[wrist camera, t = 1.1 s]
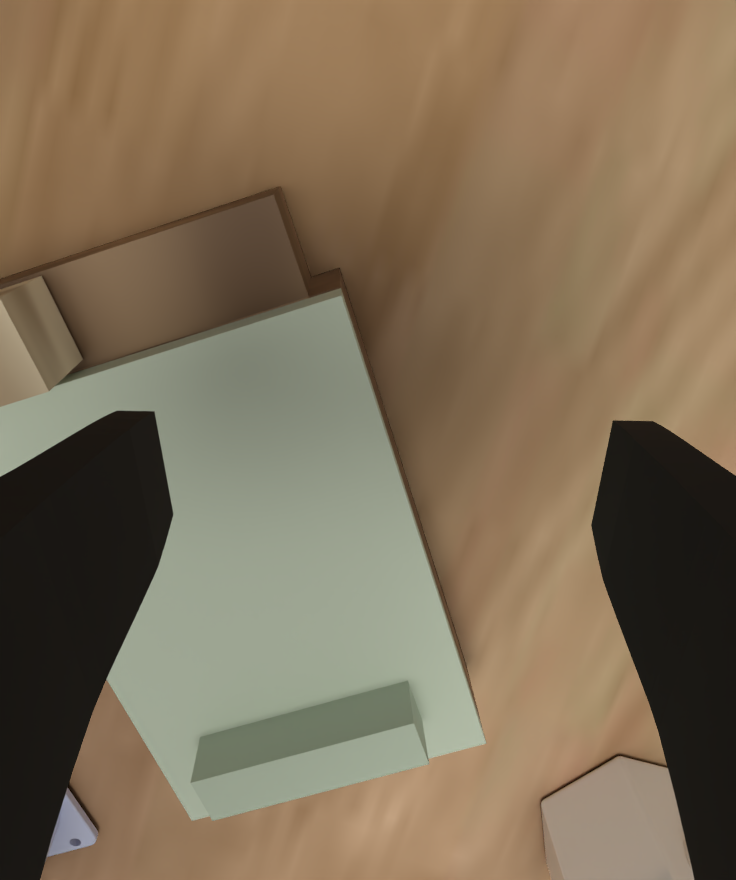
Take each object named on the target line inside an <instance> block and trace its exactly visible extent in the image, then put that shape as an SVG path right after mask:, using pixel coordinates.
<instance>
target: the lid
mask: <svg viewBox="0 0 736 880" xmlns="http://www.w3.org/2000/svg"><path fill="white" fill-rule="evenodd" d="M115 411H155V417H156V422H157V428H158V433H159V438H160V444H161V449H162V455H163V460H164V466H165V471H166V476H167V482H168V487H169V493H170V498H171V504H172V509H173V518H172V522H171V525H170V529H169V533H168V536H167V540H166V543H165V547H164V550H163V553H162V556H161V559H160V563H159V566H158V568H157V571H156V573H155V575H154V577H153V580H152V582H151V584H150V586H149V588H148V591H147V593H146V595H145V597H144V599H143V602H142V604H141V606H140V608H139V610H138V612H137V615H136V617H135V619H134V621H133V623H132V625H131V627H130V630H129V632H128V634H127V636H126V638H125V640H124V642H123V645H122V647H121V649H120V651H119V653H118V655H117V657H116V660H115V662H114V664H113V666H112V668H111V670H110V672H109V674H108V677H107V681H108V682H109V684H110V686H111V687H112V689H113V691H114V692H115V694H116V696H117V697H118V699H119V701H120V702H121V704H122V706H123V707H124V709H125V711H126V712H127V714H128V716H129V717H130V719H131V721H132V722H133V724H134V726H135V727H136V729H137V731H138V732H139V734H140V735H141V737H142V739H143V740H144V742H145V744H146V745H147V747H148V749H149V750H150V752H151V754H152V755H153V757H154V759H155V760H156V762H157V764H158V765H159V767H160V769H161V770H162V772H163V774H164V775H165V777H166V779H167V780H168V782H169V784H170V785H171V787H172V789H173V790H174V792H175V794H176V795H177V797H178V799H179V800H180V802H181V804H182V805H183V807H184V808H185V810H186V812H187V813H188V815H189V817H190V818H191V820H192V821H193V820H197V819H201V818H204V817H208V816H210V817H211V819H212V821H214V820H218V819H222V818H226V817H229V816H233V815H237V814H241V813H245V812H248V811H252V810H256V809H260V808H264V807H267V806H271V805H275V804H279V803H283V802H287V801H290V800H294V799H298V798H302V797H306V796H309V795H313V794H317V793H321V792H325V791H328V790H332V789H336V788H340V787H344V786H348V785H351V784H355V783H359V782H363V781H367V780H370V779H374V778H378V777H382V776H386V775H389V774H393V773H397V772H401V771H405V770H409V769H412V768H416V767H420V766H424V765H428V764H429V760H428V759H429V758H433V757H436V756H440V755H444V754H448V753H452V752H455V751H459V750H463V749H467V748H471V747H475V746H478V745H482V744H486V741H485V737H484V733H483V729H482V725H481V721H480V718H479V715H478V712H477V709H476V706H475V703H474V700H473V697H472V693H471V690H470V687H469V684H468V681H467V678H466V675H465V672H464V669H463V666H462V662H461V659H460V656H459V653H458V650H457V647H456V644H455V641H454V638H453V634H452V631H451V628H450V625H449V622H448V619H447V616H446V613H445V610H444V606H443V603H442V600H441V597H440V594H439V591H438V588H437V585H436V582H435V579H434V575H433V572H432V569H431V566H430V563H429V560H428V557H427V554H426V551H425V547H424V544H423V541H422V538H421V535H420V532H419V529H418V526H417V523H416V520H415V516H414V513H413V510H412V507H411V504H410V501H409V498H408V495H407V492H406V488H405V485H404V482H403V479H402V476H401V473H400V470H399V467H398V464H397V460H396V457H395V454H394V451H393V448H392V445H391V442H390V439H389V436H388V433H387V429H386V426H385V423H384V420H383V417H382V414H381V411H380V408H379V405H378V401H377V398H376V395H375V392H374V389H373V386H372V383H371V380H370V377H369V374H368V370H367V367H366V364H365V361H364V358H363V355H362V352H361V349H360V346H359V342H358V339H357V336H356V333H355V330H354V327H353V324H352V321H351V318H350V314H349V311H348V308H347V305H346V302H345V299H344V296H343V293H342V290H341V288H339V289H336V290H333V291H330V292H327V293H323V294H320V295H317V296H314V297H311V298H308V299H305V300H301V301H298V302H295V303H292V304H289V305H286V306H283V307H279V308H276V309H273V310H270V311H267V312H264V313H261V314H257V315H254V316H251V317H248V318H245V319H242V320H239V321H235V322H232V323H229V324H226V325H223V326H220V327H217V328H213V329H210V330H207V331H204V332H201V333H198V334H195V335H191V336H188V337H185V338H182V339H179V340H176V341H173V342H169V343H166V344H163V345H160V346H157V347H154V348H150V349H147V350H144V351H141V352H138V353H135V354H132V355H128V356H125V357H122V358H119V359H116V360H113V361H110V362H106V363H103V364H100V365H97V366H94V367H91V368H88V369H84V370H81V371H78V372H75V373H72V374H69V375H66V376H65V377H64V378H63V379H62V380H61V381H60V382H59V383H58V384H56V385H55V386H54V387H53V388H52V389H51V390H50V391H49V392H46V393H43V394H40V395H36V396H33V397H30V398H27V399H24V400H21V401H17V402H14V403H11V404H8V405H5V406H2V407H0V477H1V476H2V475H4V474H6V473H8V472H10V471H12V470H13V469H15V468H17V467H19V466H20V465H22V464H24V463H25V462H27V461H29V460H30V459H32V458H34V457H36V456H37V455H39V454H41V453H42V452H44V451H46V450H47V449H49V448H51V447H52V446H54V445H56V444H57V443H59V442H61V441H62V440H64V439H66V438H67V437H69V436H71V435H72V434H74V433H76V432H78V431H79V430H81V429H83V428H84V427H86V426H88V425H90V424H91V423H93V422H95V421H97V420H99V419H100V418H102V417H104V416H106V415H108V414H110V413H113V412H115Z"/></svg>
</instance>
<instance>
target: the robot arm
mask: <svg viewBox="0 0 736 880" xmlns="http://www.w3.org/2000/svg"><path fill="white" fill-rule="evenodd" d="M172 518H173V509H172V504H171V498H170V493H169V487H168V482H167V476H166V471H165V466H164V460H163V455H162V449H161V444H160V438H159V433H158V428H157V422H156V417H155V411H115V412H113V413H110V414H108V415H106V416H104V417H102V418H100V419H99V420H97V421H95V422H93V423H91V424H90V425H88V426H86V427H84V428H83V429H81V430H79V431H78V432H76V433H74V434H72V435H71V436H69V437H67V438H66V439H64V440H62V441H61V442H59V443H57V444H56V445H54V446H52V447H51V448H49V449H47V450H46V451H44V452H42V453H41V454H39V455H37V456H36V457H34V458H32V459H30V460H29V461H27V462H25V463H24V464H22V465H20V466H19V467H17V468H15V469H13V470H12V471H10V472H8V473H6V474H4V475H2V476H1V477H0V880H40V878H41V874H42V870H43V867H44V864H45V861H46V858H47V857H49V856H53V855H57V854H60V853H64V852H68V851H72V850H76V849H79V848H83V847H87V846H90V845H93V844H94V843H95V842H96V840H97V836H98V831H97V829H96V828H95V826H94V825H93V824H92V822H91V821H90V819H89V818H88V816H87V815H86V813H85V812H84V810H83V809H82V808H81V806H80V805H79V803H78V802H77V800H76V799H75V797H74V796H73V795H72V793H71V792H70V790H69V789H68V784H69V781H70V778H71V774H72V771H73V768H74V765H75V762H76V759H77V757H78V754H79V751H80V748H81V745H82V742H83V739H84V736H85V733H86V730H87V727H88V724H89V721H90V718H91V715H92V712H93V710H94V707H95V705H96V702H97V700H98V698H99V695H100V693H101V690H102V688H103V685H104V683H105V681H106V679H107V677H108V674H109V672H110V670H111V668H112V666H113V664H114V662H115V660H116V657H117V655H118V653H119V651H120V649H121V647H122V645H123V642H124V640H125V638H126V636H127V634H128V632H129V630H130V627H131V625H132V623H133V621H134V619H135V617H136V615H137V612H138V610H139V608H140V606H141V604H142V602H143V599H144V597H145V595H146V593H147V591H148V588H149V586H150V584H151V582H152V580H153V577H154V575H155V573H156V571H157V568H158V566H159V563H160V559H161V556H162V553H163V550H164V547H165V543H166V540H167V536H168V533H169V529H170V525H171V522H172ZM591 526H592V531H593V536H594V541H595V546H596V551H597V556H598V560H599V564H600V569H601V573H602V577H603V581H604V584H605V587H606V589H607V592H608V595H609V598H610V600H611V603H612V606H613V609H614V611H615V614H616V617H617V619H618V622H619V625H620V627H621V630H622V633H623V635H624V638H625V641H626V643H627V646H628V649H629V651H630V654H631V656H632V659H633V662H634V664H635V667H636V670H637V672H638V675H639V678H640V680H641V683H642V686H643V688H644V691H645V694H646V696H647V699H648V701H649V704H650V707H651V710H652V713H653V717H654V720H655V723H656V726H657V729H658V732H659V736H660V739H661V743H662V747H663V751H664V755H665V759H666V763H667V767H668V771H669V774H670V778H671V782H672V786H673V790H674V794H675V798H676V802H677V806H678V811H679V815H680V819H681V824H682V828H683V832H684V836H685V841H686V845H687V849H688V854H689V858H690V862H691V866H692V871H693V876H694V880H736V476H735V475H734V474H732V473H731V472H729V471H728V470H726V469H725V468H723V467H722V466H720V465H719V464H717V463H716V462H715V461H713V460H712V459H710V458H709V457H707V456H706V455H704V454H703V453H702V452H700V451H699V450H697V449H696V448H694V447H693V446H691V445H690V444H689V443H687V442H686V441H684V440H683V439H681V438H680V437H678V436H677V435H675V434H674V433H672V432H671V431H669V430H667V429H666V428H664V427H662V426H661V425H659V424H657V423H655V422H653V421H613V423H612V428H611V433H610V438H609V442H608V447H607V452H606V457H605V462H604V467H603V472H602V476H601V481H600V486H599V491H598V496H597V501H596V506H595V511H594V515H593V520H592V525H591Z"/></svg>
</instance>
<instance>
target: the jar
mask: <svg viewBox="0 0 736 880" xmlns="http://www.w3.org/2000/svg"><path fill="white" fill-rule="evenodd" d="M541 812H542V822H543V833H544V843H545V855H546V864H547V867H548V870H549V874H550V877H551V880H694V876H693V871H692V866H691V862H690V858H689V854H688V849H687V845H686V841H685V836H684V832H683V828H682V824H681V819H680V815H679V811H678V806H677V802H676V798H675V794H674V790H673V786H672V782H671V778H670V774H669V771H668V768H666V767H662V766H658V765H654V764H651V763H647V762H643V761H639V760H635V759H631V758H627V757H623V756H618V757H615V758H614V759H612V760H610V761H609V762H607V763H605V764H603V765H602V766H600V767H598V768H597V769H595V770H593V771H591V772H590V773H588V774H586V775H585V776H583V777H581V778H579V779H578V780H576V781H574V782H573V783H571V784H569V785H567V786H566V787H564V788H562V789H561V790H559V791H557V792H555V793H554V794H552V795H550V796H549V797H547V798H545V799H544V800H542V802H541Z"/></svg>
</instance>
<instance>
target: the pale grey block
mask: <svg viewBox="0 0 736 880" xmlns="http://www.w3.org/2000/svg"><path fill="white" fill-rule="evenodd" d="M82 360H83V358H82V356H81V354H80V352H79V350H78V348H77V346H76V344H75V342H74V340H73V338H72V336H71V334H70V332H69V330H68V328H67V326H66V324H65V322H64V320H63V318H62V316H61V314H60V312H59V310H58V308H57V306H56V304H55V302H54V300H53V298H52V296H51V294H50V292H49V290H48V288H47V286H46V284H45V282H44V280H43V278H42V276H39V277H36V278H33V279H30V280H27V281H24V282H21V283H18V284H15V285H12V286H9V287H6V288H3V289H0V407H2V406H5V405H8V404H11V403H14V402H17V401H21V400H24V399H27V398H30V397H33V396H36V395H40V394H43V393H46V392H49V391H50V390H51V389H52V388H53V387H54V386H55V385H56V384H58V383H59V382H60V381H61V380H62V379H63V378H64V377H65V376H66V375H67V374H68V373H69V372H70V371H71V370H72V369H73V368H74V367H75V366H77V365H78V364H79V363H80V362H81V361H82Z"/></svg>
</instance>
